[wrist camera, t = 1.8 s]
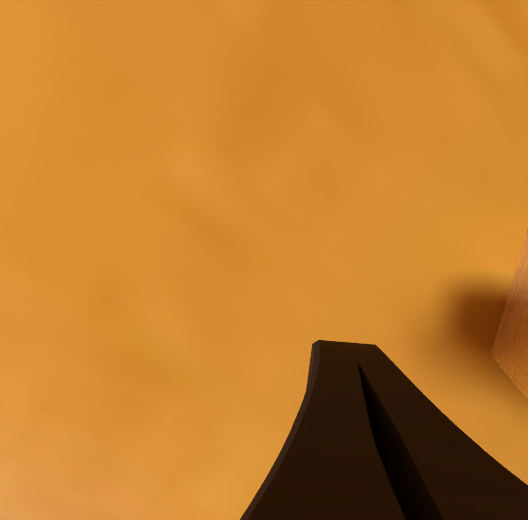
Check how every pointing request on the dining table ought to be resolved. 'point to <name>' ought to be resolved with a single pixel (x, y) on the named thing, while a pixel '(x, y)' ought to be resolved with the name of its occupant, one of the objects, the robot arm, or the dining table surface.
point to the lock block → (515, 328)
